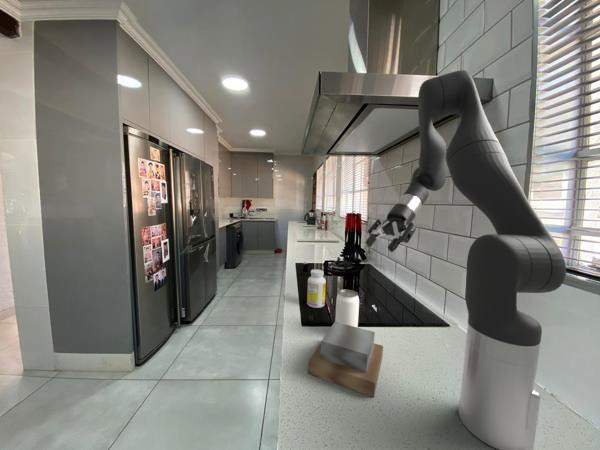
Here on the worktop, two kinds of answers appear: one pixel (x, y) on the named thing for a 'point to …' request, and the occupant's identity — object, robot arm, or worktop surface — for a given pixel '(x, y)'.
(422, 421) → the worktop surface
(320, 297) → the supplement bottle
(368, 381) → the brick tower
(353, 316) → the can
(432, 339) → the worktop surface
